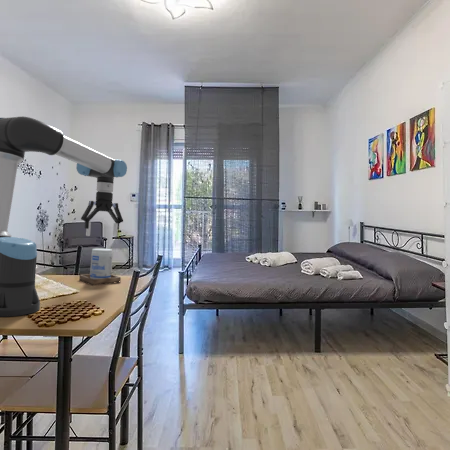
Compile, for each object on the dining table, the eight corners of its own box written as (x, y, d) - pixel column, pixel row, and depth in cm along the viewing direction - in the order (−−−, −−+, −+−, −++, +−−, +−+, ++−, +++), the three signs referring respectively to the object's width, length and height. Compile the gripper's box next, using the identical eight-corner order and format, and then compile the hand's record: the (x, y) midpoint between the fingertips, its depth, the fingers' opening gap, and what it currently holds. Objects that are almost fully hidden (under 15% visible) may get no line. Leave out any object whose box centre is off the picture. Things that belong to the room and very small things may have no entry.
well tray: (92, 285, 159) (92, 279, 159) (79, 280, 169) (79, 274, 169) (120, 282, 169) (120, 277, 169) (106, 277, 179) (106, 272, 179)
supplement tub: (88, 281, 163) (90, 249, 163) (91, 277, 172) (92, 247, 172) (110, 281, 165) (111, 250, 165) (111, 277, 175) (113, 248, 174)
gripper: (82, 188, 156) (79, 236, 156) (131, 194, 174) (129, 237, 174) (75, 189, 161) (72, 235, 162) (124, 194, 179) (121, 236, 179)
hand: (101, 236), depth 168 cm, fingers open, 13 cm apart
